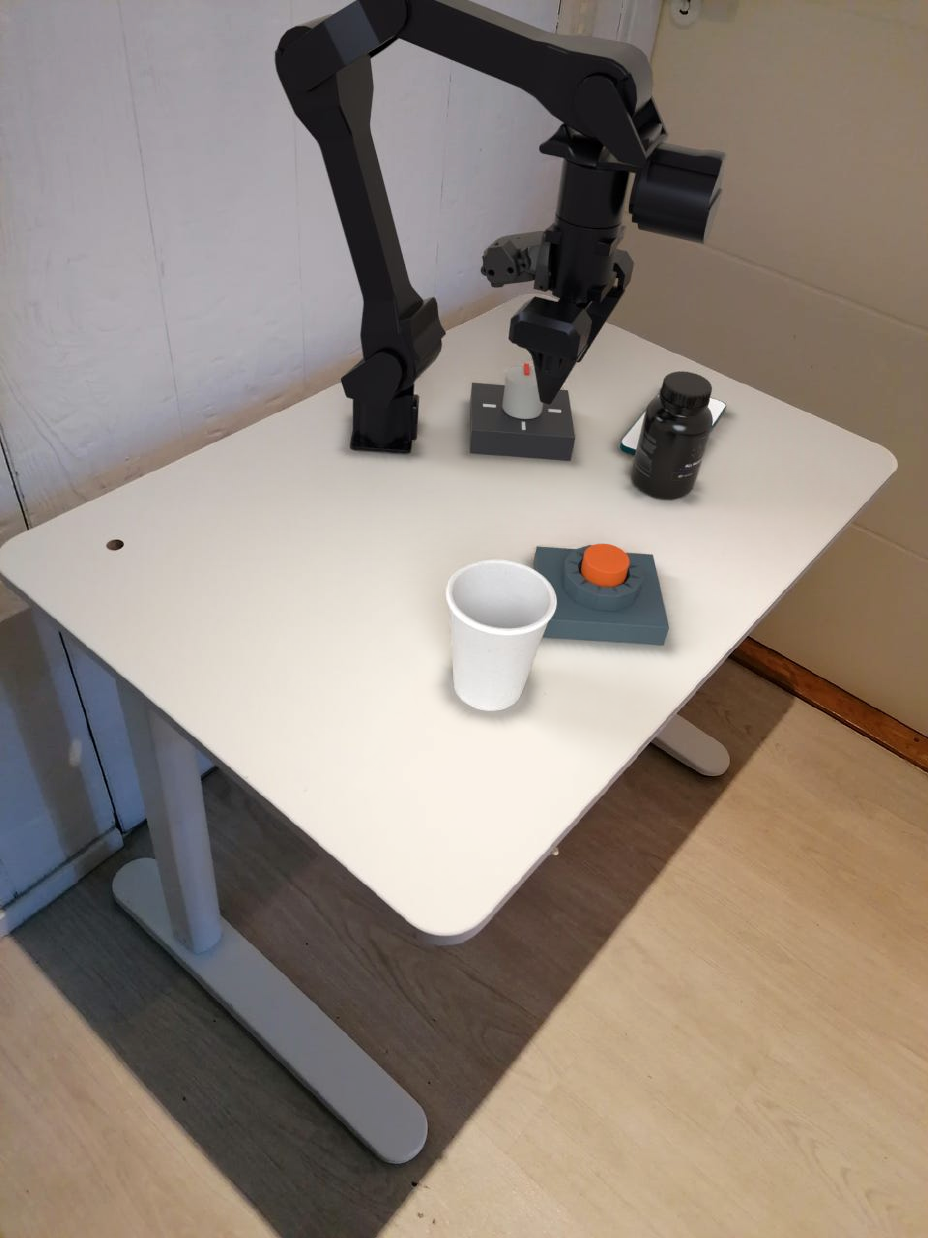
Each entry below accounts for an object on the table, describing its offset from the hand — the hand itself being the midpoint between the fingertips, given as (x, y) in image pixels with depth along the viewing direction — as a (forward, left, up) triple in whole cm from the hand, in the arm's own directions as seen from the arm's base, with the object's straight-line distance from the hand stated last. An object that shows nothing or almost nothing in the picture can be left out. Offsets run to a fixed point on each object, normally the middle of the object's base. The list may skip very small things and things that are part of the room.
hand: (560, 381), depth 93 cm
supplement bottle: (+13, +2, -12) cm, 18 cm away
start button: (+4, -18, -8) cm, 20 cm away
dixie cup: (-6, -29, -12) cm, 32 cm away
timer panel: (-2, +10, -12) cm, 16 cm away
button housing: (+4, -18, -12) cm, 22 cm away
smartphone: (+16, +13, -12) cm, 24 cm away
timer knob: (-2, +10, -9) cm, 14 cm away
